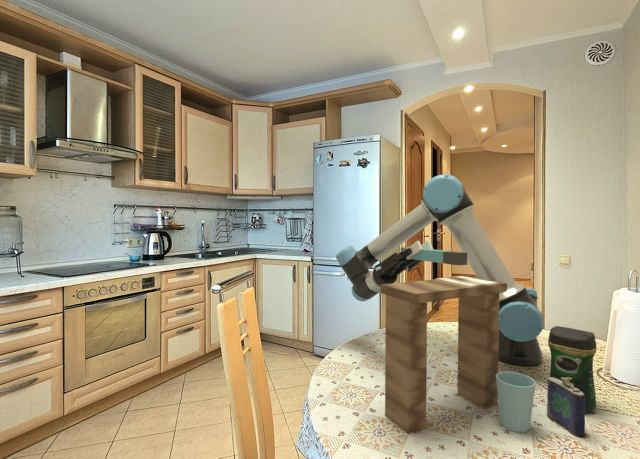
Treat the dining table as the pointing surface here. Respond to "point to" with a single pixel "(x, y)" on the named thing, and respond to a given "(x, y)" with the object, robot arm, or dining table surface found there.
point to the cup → (515, 400)
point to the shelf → (411, 344)
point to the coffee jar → (574, 360)
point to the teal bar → (440, 256)
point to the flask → (566, 405)
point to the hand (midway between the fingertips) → (425, 244)
